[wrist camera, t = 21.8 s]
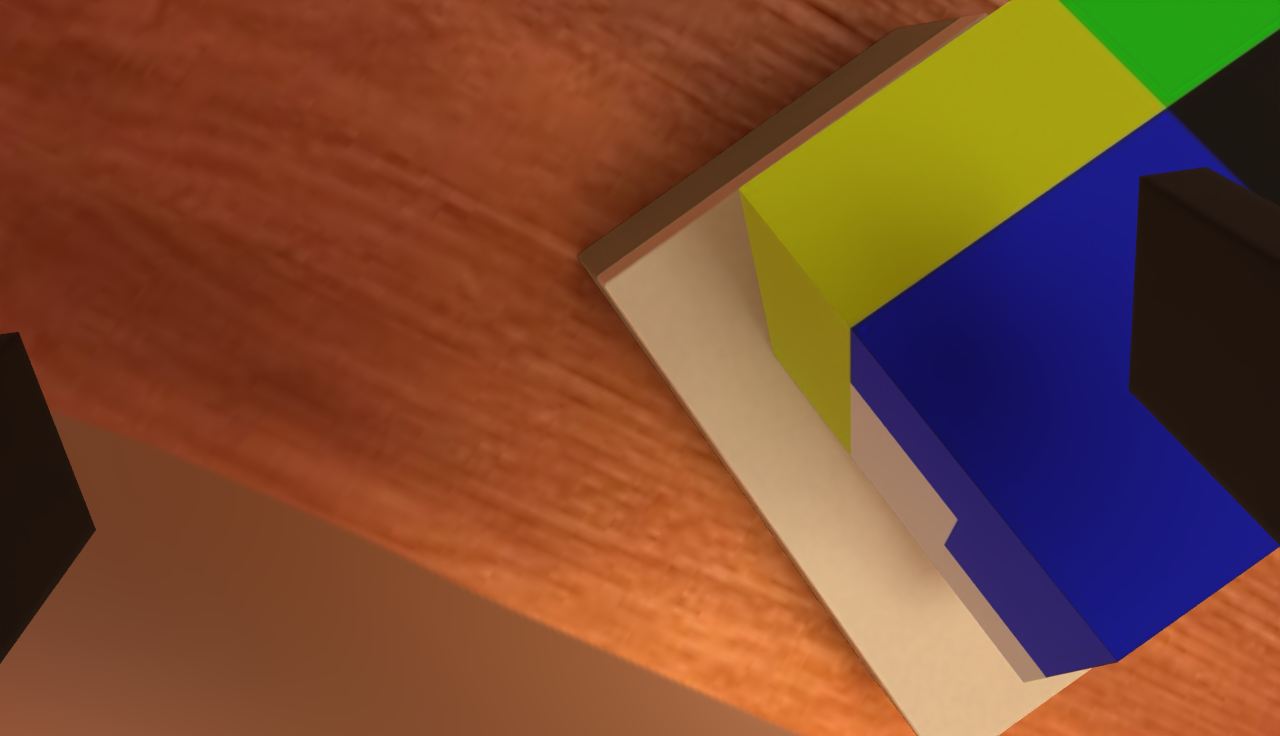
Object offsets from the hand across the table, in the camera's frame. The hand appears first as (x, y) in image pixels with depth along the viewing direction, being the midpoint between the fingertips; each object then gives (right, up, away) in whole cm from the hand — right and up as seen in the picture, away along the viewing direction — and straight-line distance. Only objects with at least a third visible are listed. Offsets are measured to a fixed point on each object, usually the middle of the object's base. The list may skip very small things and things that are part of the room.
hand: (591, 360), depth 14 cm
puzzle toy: (+11, -1, +15) cm, 19 cm away
